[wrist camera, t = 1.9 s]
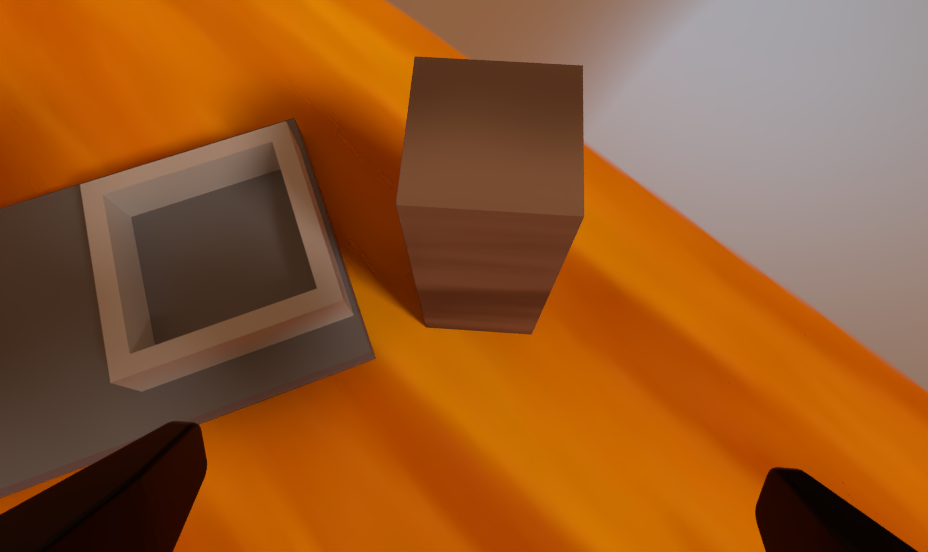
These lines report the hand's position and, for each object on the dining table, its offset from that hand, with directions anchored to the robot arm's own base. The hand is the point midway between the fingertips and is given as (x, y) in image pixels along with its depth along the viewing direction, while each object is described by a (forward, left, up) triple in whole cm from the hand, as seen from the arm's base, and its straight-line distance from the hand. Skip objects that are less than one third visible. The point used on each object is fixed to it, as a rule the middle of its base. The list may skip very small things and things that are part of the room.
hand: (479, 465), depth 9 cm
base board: (-16, +8, -13) cm, 22 cm away
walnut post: (+1, +8, -13) cm, 16 cm away
